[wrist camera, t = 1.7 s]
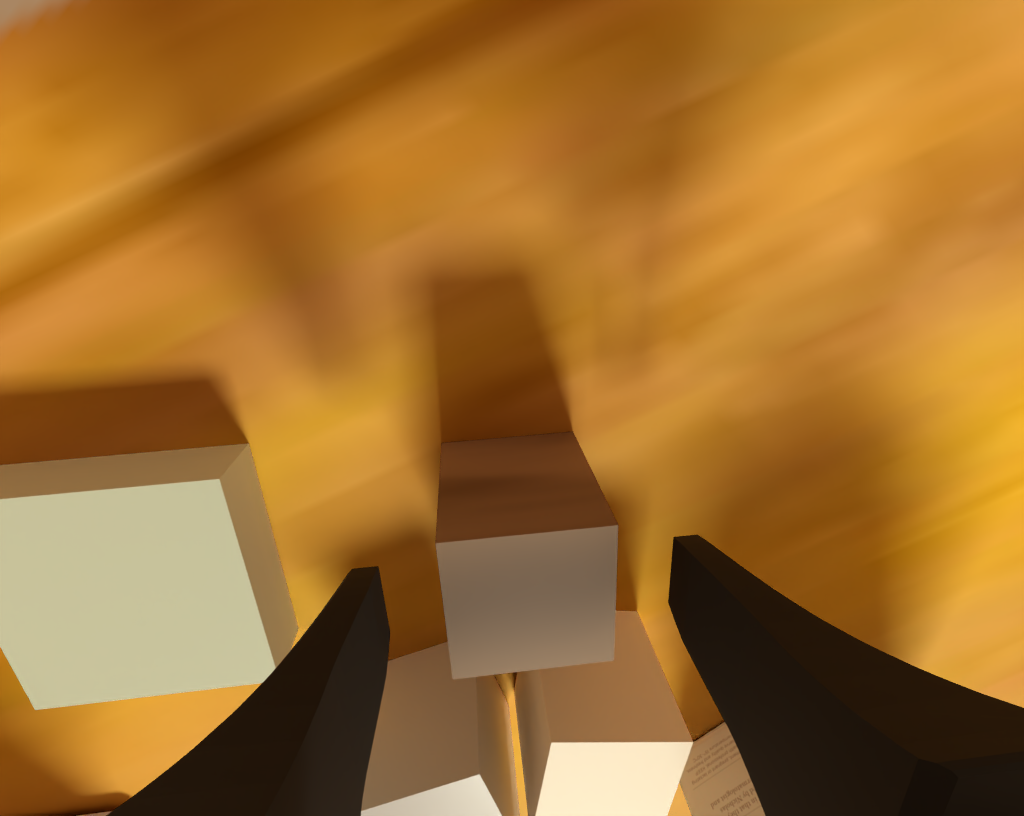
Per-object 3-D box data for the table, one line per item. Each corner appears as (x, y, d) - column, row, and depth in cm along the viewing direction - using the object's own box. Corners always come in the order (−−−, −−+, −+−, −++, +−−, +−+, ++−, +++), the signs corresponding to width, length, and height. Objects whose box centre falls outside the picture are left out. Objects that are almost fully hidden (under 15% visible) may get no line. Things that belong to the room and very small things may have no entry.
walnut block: (573, 539, 18) (614, 660, 13) (453, 551, 18) (452, 679, 13) (572, 430, 16) (618, 525, 12) (441, 442, 16) (435, 543, 11)
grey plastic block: (508, 706, 20) (523, 855, 16) (410, 736, 21) (397, 894, 16) (474, 632, 19) (479, 774, 14) (368, 666, 19) (340, 817, 14)
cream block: (615, 691, 21) (660, 833, 16) (514, 690, 20) (530, 837, 16) (637, 610, 19) (693, 742, 15) (528, 607, 19) (551, 742, 14)
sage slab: (301, 620, 18) (279, 680, 16) (89, 643, 18) (35, 709, 16) (253, 437, 16) (218, 479, 13) (3, 459, 15) (-78, 505, 13)
